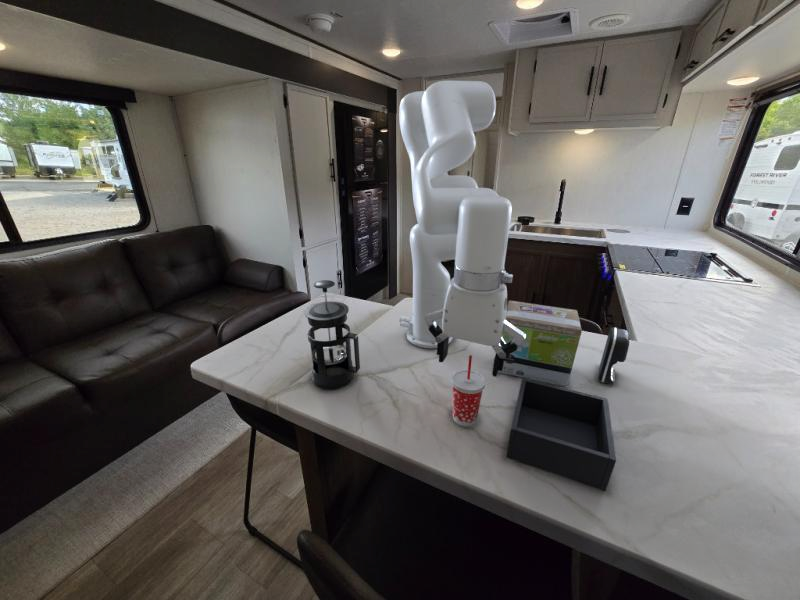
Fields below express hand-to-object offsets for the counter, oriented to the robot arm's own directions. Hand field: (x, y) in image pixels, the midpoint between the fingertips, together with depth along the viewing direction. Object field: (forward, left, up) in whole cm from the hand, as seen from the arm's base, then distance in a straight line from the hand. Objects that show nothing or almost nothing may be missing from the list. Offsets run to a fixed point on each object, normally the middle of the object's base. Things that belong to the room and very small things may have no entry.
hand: (468, 365), depth 61 cm
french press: (-30, -1, -12) cm, 32 cm away
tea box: (+10, +21, -12) cm, 27 cm away
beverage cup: (0, -1, -12) cm, 12 cm away
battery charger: (+26, +25, -12) cm, 39 cm away
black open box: (+16, 0, -12) cm, 20 cm away
